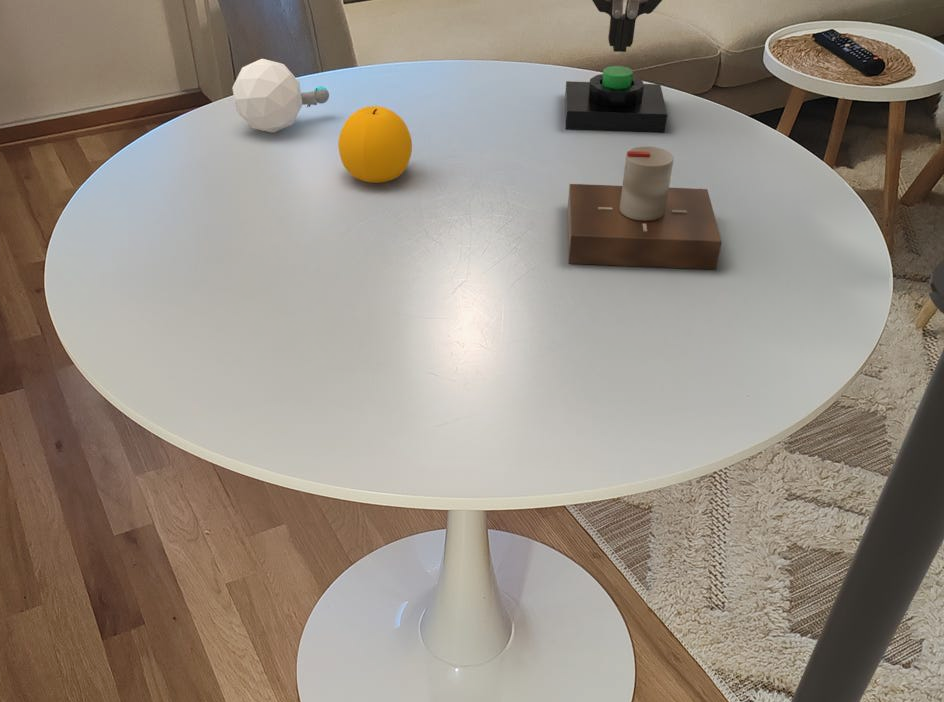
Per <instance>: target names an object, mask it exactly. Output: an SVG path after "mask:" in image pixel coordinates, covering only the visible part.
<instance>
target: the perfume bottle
mask: <svg viewBox="0 0 944 702" xmlns="http://www.w3.org/2000/svg"><path fill="white" fill-rule="evenodd" d="M233 83H234V84H233V86H232V94H233V100H234V105H235V106H234V107H235V111H236V113H238V115H239V116H240V117H241V118H242V119H243V120H244V121H245V122H246V124H248V125H249V127H250V128H251V129H254V130H258V131H262V132H267V133H270V134H275V133H277V132H279V131H281V130H284V129H286V128H288V127H290V126H292V125H294V122H295V121H296V118H297V117H298V114H299V113H300V111H301V109H302V107H303V105H304V106H305V105H306V109H308V108H311V106H317V105H318V104H320V105H321V104H322V105H323V104H325V103H327V102H328V100H329V98H330V92H329V91H328V89H327V87H325V86H321V85H320V86H316V87H315V89H314V90H313V91H307V92H302V91H301V84H300V81H299V80H298V79H297V78H296V77H295V74H293V73H292V71H290V69H289V68H288V67H287V66H286V65H285V64H284V63H281V62H277V61H275V60H269V59H265V58H260V59H257V60H256V61H253V62H252V63H248V64H246V65H244V66H242V67H241V69H240V71H239V73H238V75H237V77H236V79H235V81H234V82H233Z"/></svg>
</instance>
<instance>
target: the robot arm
mask: <svg viewBox="0 0 944 702" xmlns="http://www.w3.org/2000/svg"><path fill="white" fill-rule="evenodd" d="M591 1H592V2H593V4H594V6H595V7H596V9H597V10H598V12H600V13H605V14H607V15H608V16H609V17H610V18H609V19H610V20H609V28H608V37H607V39H608V44H609V47H612V48H613V49H612V51H613V52H615V53H626V52H627V47H628V48H632V47H631V46H632V45H633V42H634V36H635V27H636V22H637V19H638V17H640V16H641V15H644V14H646V15H648V14H649V15H650V14H651V13H653V12H654V10H656V8H657V7H658V6H659V5H660V3H662V1H663V0H626V4H625V10H624V0H591Z"/></svg>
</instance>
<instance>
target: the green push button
mask: <svg viewBox="0 0 944 702" xmlns="http://www.w3.org/2000/svg"><path fill="white" fill-rule="evenodd" d="M602 74H603V78H602V85H603V86H605V87H609V88H613V89H624V88H630V87H631V84H632V76H634V71H633V70H632V68H630V67H627V66H622V65H611V66H606V67H604V68H603V70H602Z"/></svg>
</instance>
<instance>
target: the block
mask: <svg viewBox="0 0 944 702" xmlns="http://www.w3.org/2000/svg"><path fill="white" fill-rule="evenodd" d="M602 78H603V73H601V74H596V75H594V76H593V77H591V78H590V79H589V81H569V80H568V81H566V82H565V92H564V118H565V119H564V120H565V121H564V122H565V124H564V125H565V130H583V131H584V130H585V131H613V132H615V131H616V132H639V133H640V132H642V133H643V132H644V133H665V132H666V126H667V120H668V112H667V107H666V103H665V98H664V94H663V89H662V85H661V84H660V83H644V80H642V79H640V78H638V77H637V76H635V75H633V76H632V84H631V87H630V88H624V89H613V88H609V87H605V86H603V85H602Z"/></svg>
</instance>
